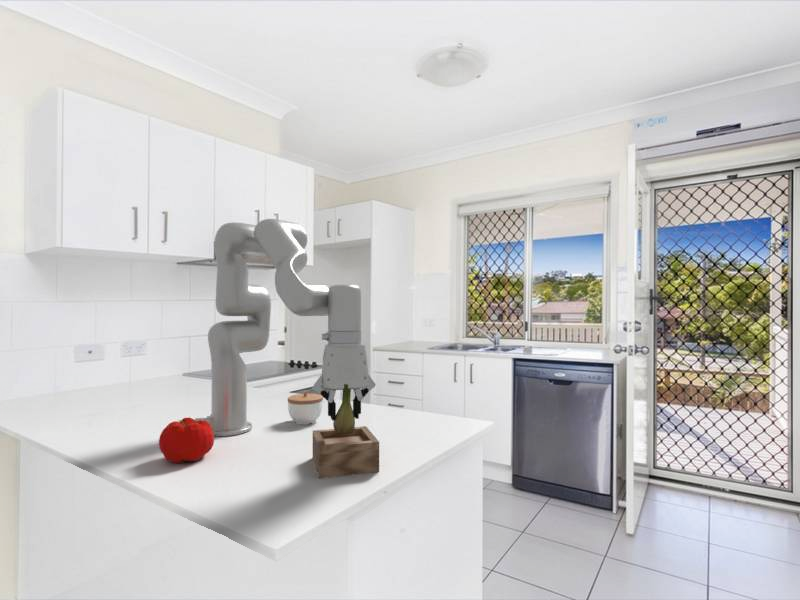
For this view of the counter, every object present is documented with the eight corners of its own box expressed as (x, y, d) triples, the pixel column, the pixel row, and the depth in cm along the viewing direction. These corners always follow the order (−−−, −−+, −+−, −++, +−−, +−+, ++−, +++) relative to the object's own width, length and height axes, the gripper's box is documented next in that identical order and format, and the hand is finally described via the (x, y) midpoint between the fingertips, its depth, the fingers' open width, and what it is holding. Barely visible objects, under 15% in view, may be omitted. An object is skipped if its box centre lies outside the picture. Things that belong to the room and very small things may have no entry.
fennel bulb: (344, 437, 98) (348, 383, 99) (326, 433, 101) (330, 380, 101) (359, 432, 103) (362, 380, 104) (342, 428, 106) (345, 377, 106)
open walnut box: (319, 478, 94) (319, 447, 94) (312, 457, 106) (312, 430, 106) (379, 471, 98) (379, 441, 98) (365, 452, 110) (365, 426, 110)
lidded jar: (326, 424, 136) (326, 393, 136) (290, 428, 132) (290, 396, 132) (319, 416, 146) (319, 387, 146) (285, 419, 142) (285, 389, 142)
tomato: (211, 463, 102) (211, 424, 103) (153, 469, 99) (153, 428, 99) (216, 449, 113) (216, 413, 113) (163, 453, 109) (164, 416, 109)
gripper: (308, 340, 96) (308, 425, 96) (384, 338, 101) (384, 419, 101) (305, 338, 103) (305, 417, 103) (376, 336, 108) (376, 411, 108)
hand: (344, 417), depth 102 cm, fingers closed on fennel bulb, 4 cm apart
